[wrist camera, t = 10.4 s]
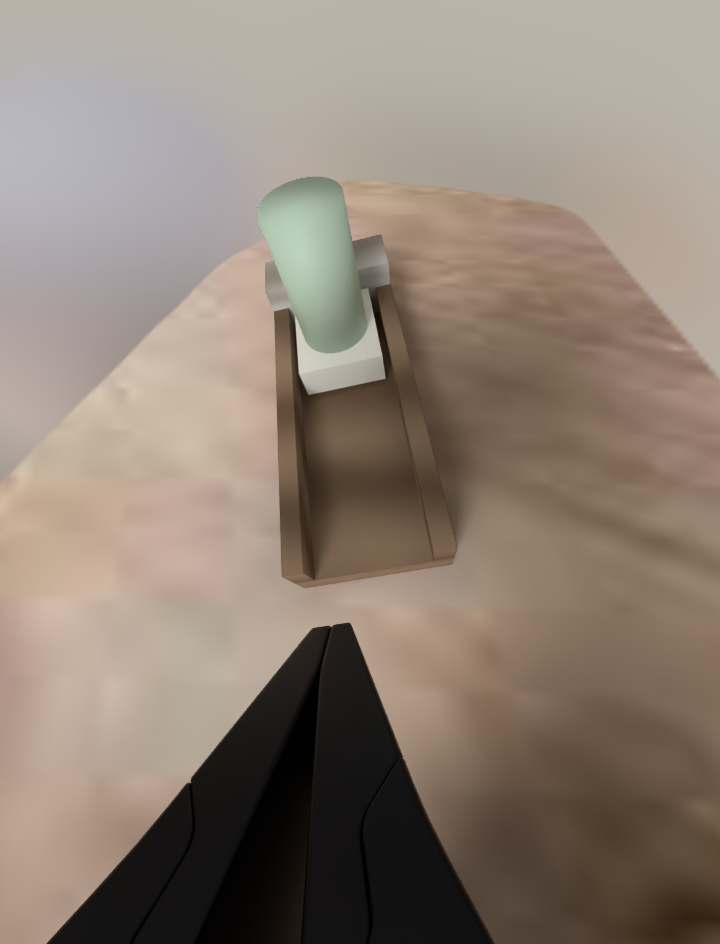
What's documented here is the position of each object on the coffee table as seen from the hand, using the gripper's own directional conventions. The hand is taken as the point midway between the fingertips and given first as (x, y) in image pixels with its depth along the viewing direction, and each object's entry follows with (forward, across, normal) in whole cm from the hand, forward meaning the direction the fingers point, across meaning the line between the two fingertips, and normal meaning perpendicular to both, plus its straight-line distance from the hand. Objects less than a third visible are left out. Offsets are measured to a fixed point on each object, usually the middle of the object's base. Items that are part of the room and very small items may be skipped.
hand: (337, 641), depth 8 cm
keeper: (+19, 0, -6) cm, 20 cm away
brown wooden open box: (+18, 0, -2) cm, 18 cm away
